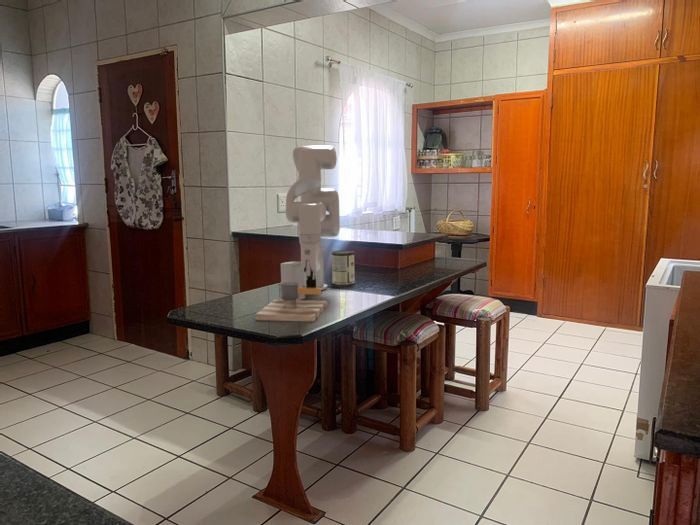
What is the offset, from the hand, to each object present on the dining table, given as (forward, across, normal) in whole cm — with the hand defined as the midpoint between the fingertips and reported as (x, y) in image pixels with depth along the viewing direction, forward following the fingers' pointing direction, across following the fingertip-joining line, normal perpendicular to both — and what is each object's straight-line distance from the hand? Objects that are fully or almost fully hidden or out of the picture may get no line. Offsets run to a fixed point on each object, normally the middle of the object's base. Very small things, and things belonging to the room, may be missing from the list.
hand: (311, 290), depth 192 cm
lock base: (+8, -2, +7) cm, 11 cm away
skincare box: (+8, +18, +11) cm, 22 cm away
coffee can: (+8, +53, -4) cm, 54 cm away
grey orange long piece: (+2, -2, +3) cm, 5 cm away
